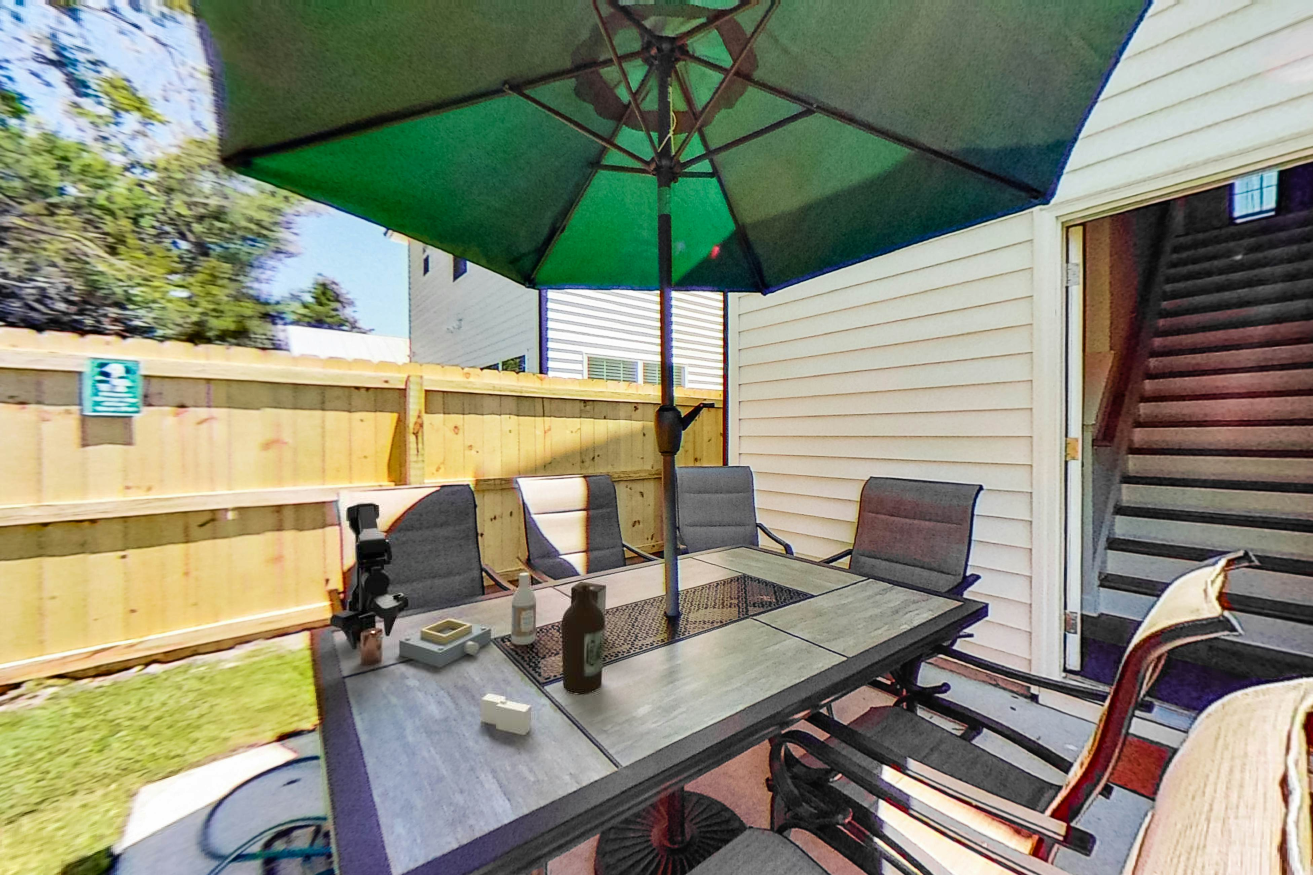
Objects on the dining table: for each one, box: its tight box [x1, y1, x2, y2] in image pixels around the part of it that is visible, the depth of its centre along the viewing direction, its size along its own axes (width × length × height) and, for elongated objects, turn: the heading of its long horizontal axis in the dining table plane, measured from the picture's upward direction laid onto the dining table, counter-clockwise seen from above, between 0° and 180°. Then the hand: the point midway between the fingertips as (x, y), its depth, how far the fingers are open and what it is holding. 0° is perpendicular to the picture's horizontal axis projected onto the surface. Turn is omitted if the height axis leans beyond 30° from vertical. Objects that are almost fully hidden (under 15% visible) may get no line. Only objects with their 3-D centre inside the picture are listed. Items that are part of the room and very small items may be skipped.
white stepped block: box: [480, 693, 532, 736], centre depth 106 cm, size 15×11×6 cm
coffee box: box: [570, 581, 607, 638], centre depth 149 cm, size 9×6×16 cm
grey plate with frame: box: [398, 617, 492, 668], centre depth 141 cm, size 19×18×6 cm
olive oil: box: [560, 581, 606, 695], centre depth 122 cm, size 11×11×25 cm
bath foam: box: [510, 572, 537, 646], centre depth 147 cm, size 7×7×20 cm
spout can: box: [360, 627, 384, 667], centre depth 133 cm, size 7×5×8 cm
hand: (371, 642), depth 133 cm, fingers open, 9 cm apart
